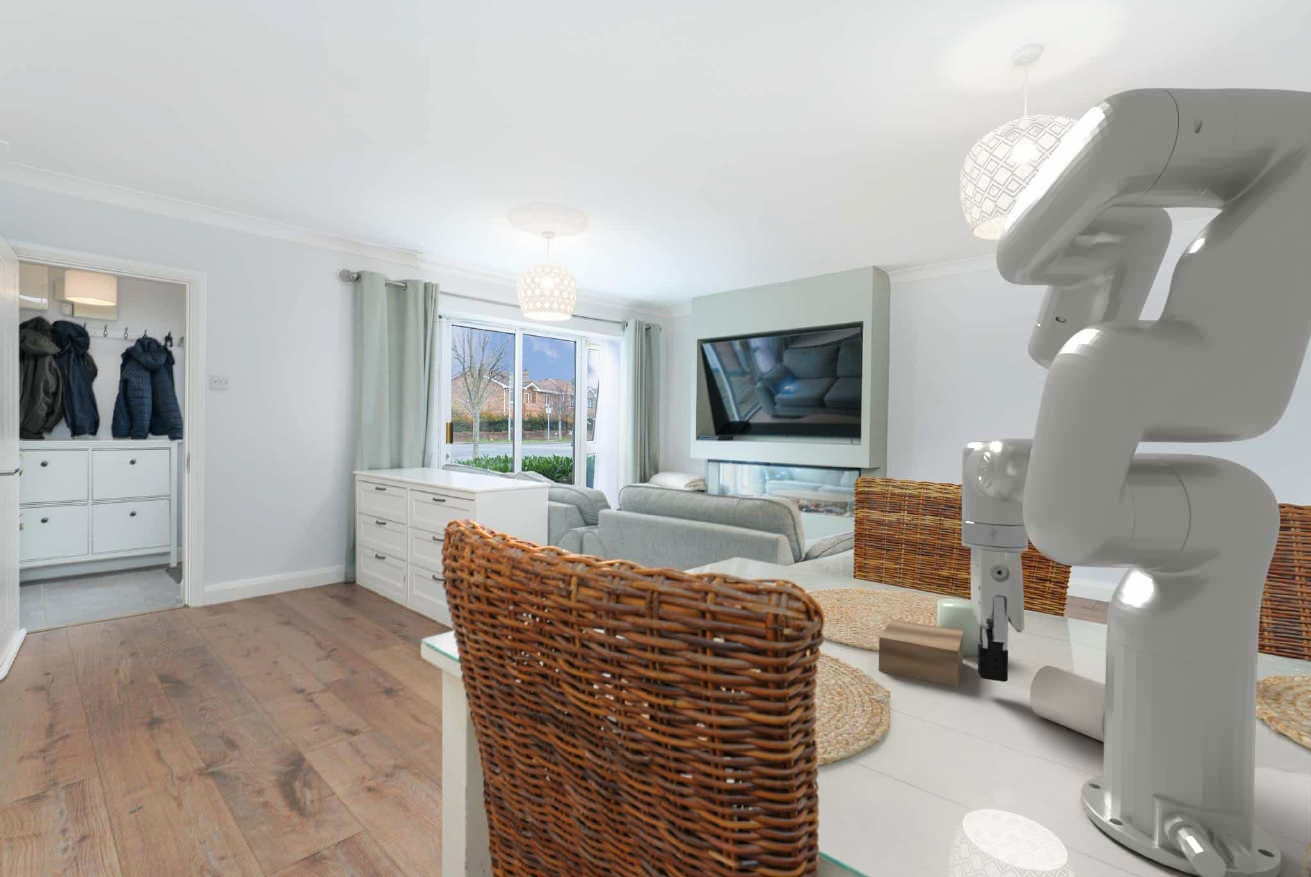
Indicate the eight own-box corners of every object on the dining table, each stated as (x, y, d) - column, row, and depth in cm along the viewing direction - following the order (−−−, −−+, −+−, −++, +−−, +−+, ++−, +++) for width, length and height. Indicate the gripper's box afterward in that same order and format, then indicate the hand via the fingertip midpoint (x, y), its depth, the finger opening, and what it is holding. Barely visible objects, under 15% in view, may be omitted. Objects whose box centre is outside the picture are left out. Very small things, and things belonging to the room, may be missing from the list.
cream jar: (1058, 717, 73) (1144, 752, 65) (1026, 717, 70) (1112, 753, 62) (1064, 665, 74) (1150, 694, 65) (1033, 663, 71) (1119, 692, 63)
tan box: (957, 688, 80) (957, 651, 80) (878, 672, 85) (879, 637, 85) (962, 664, 89) (963, 631, 89) (891, 651, 94) (891, 619, 94)
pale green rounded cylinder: (984, 658, 91) (985, 612, 91) (937, 652, 93) (938, 607, 93) (978, 644, 97) (979, 601, 97) (935, 639, 99) (936, 596, 99)
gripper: (1041, 546, 70) (1039, 705, 69) (1015, 530, 84) (1014, 663, 83) (968, 542, 72) (966, 695, 72) (955, 527, 86) (954, 655, 86)
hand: (992, 677), depth 78 cm, fingers closed
